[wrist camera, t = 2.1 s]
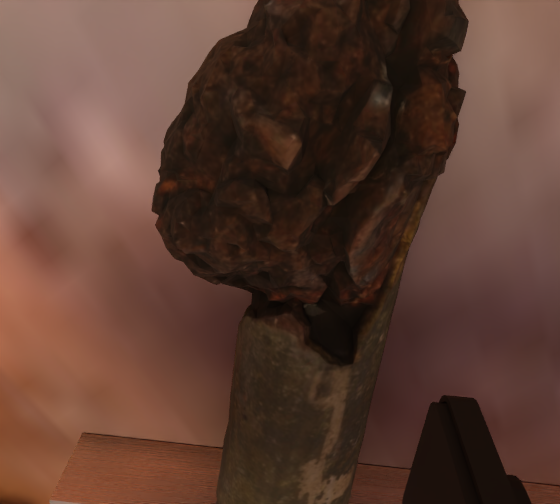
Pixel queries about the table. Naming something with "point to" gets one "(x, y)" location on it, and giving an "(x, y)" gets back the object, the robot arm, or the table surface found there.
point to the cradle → (197, 476)
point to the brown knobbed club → (309, 217)
